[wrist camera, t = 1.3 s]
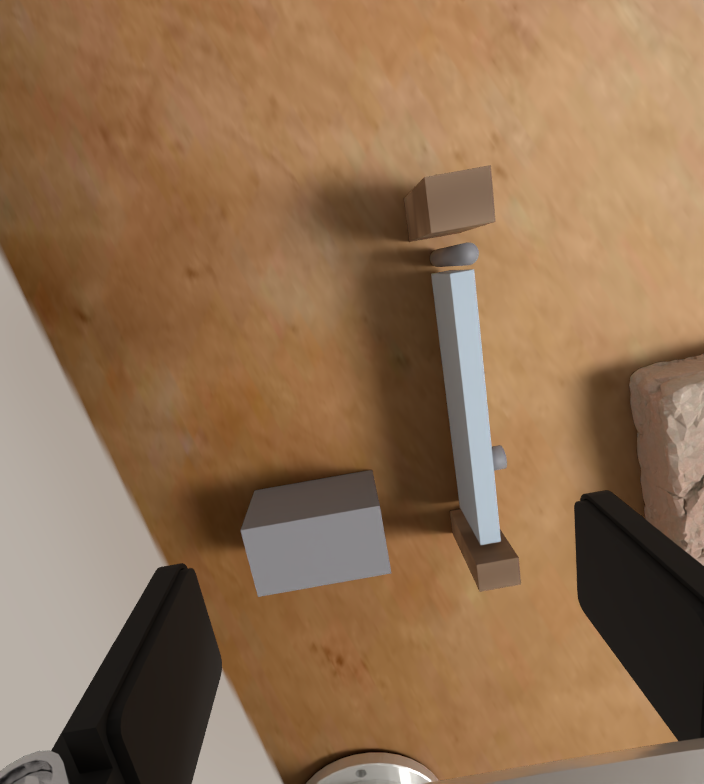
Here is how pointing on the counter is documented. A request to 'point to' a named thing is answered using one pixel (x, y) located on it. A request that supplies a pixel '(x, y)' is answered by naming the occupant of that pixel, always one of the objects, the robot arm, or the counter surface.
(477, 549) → the block
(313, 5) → the counter surface
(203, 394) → the counter surface
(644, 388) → the brick
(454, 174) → the brown wooden block
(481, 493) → the door
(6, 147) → the counter surface
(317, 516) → the block
